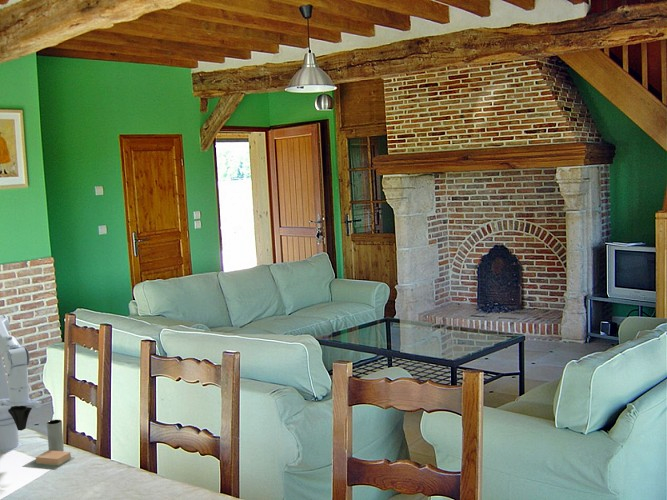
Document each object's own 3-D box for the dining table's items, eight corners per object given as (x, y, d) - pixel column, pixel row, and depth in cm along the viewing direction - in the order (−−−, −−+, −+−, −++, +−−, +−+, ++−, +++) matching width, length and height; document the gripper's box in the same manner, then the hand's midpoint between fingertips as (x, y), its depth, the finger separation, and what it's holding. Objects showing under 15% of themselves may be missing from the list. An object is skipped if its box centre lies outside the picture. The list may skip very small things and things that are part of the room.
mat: (22, 467, 227) (21, 466, 227) (43, 456, 237) (43, 454, 237) (55, 471, 224) (55, 469, 223) (75, 459, 233) (75, 457, 233)
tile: (35, 456, 228) (57, 459, 226) (48, 450, 234) (70, 452, 232) (36, 464, 228) (58, 466, 226) (49, 457, 234) (70, 459, 232)
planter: (48, 451, 240) (46, 420, 239) (63, 449, 242) (61, 418, 241) (49, 456, 236) (47, 424, 235) (64, 453, 238) (62, 422, 237)
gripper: (-11, 389, 228) (-7, 432, 230) (29, 391, 224) (32, 435, 225) (6, 382, 235) (9, 424, 236) (44, 385, 231) (47, 427, 232)
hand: (21, 429), depth 231 cm, fingers closed
